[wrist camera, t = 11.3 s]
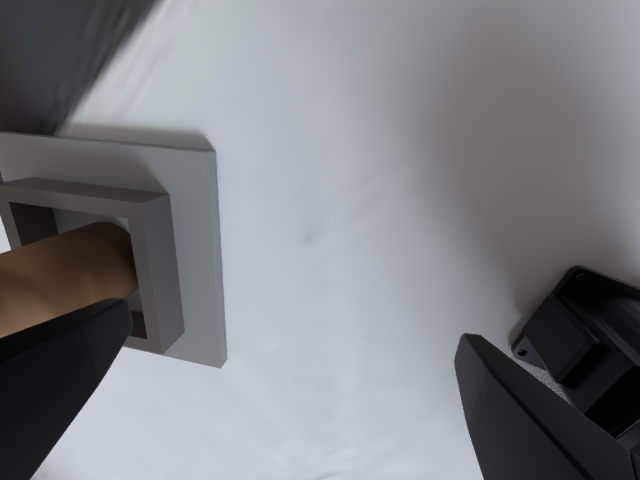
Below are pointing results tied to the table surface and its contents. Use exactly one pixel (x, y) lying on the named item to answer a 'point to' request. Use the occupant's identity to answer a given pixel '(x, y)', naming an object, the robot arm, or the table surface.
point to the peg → (64, 274)
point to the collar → (131, 227)
